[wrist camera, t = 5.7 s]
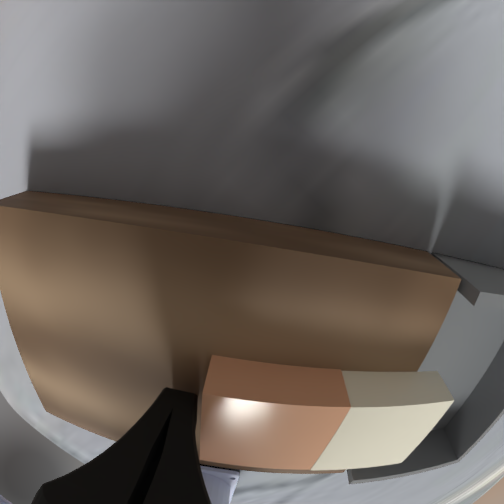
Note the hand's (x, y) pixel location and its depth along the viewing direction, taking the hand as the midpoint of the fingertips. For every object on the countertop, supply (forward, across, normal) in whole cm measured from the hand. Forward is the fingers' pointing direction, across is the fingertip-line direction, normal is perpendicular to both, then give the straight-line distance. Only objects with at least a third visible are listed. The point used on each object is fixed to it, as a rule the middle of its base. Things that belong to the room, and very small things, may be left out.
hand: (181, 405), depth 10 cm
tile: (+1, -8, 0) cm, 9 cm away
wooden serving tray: (+4, 0, 0) cm, 4 cm away
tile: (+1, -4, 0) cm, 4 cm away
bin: (+4, -15, 0) cm, 15 cm away
